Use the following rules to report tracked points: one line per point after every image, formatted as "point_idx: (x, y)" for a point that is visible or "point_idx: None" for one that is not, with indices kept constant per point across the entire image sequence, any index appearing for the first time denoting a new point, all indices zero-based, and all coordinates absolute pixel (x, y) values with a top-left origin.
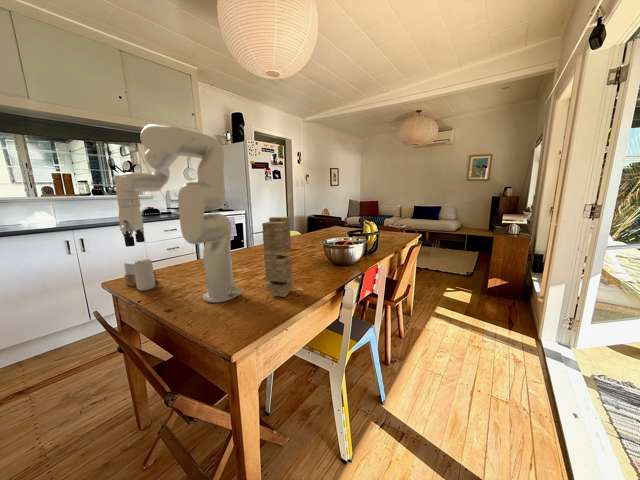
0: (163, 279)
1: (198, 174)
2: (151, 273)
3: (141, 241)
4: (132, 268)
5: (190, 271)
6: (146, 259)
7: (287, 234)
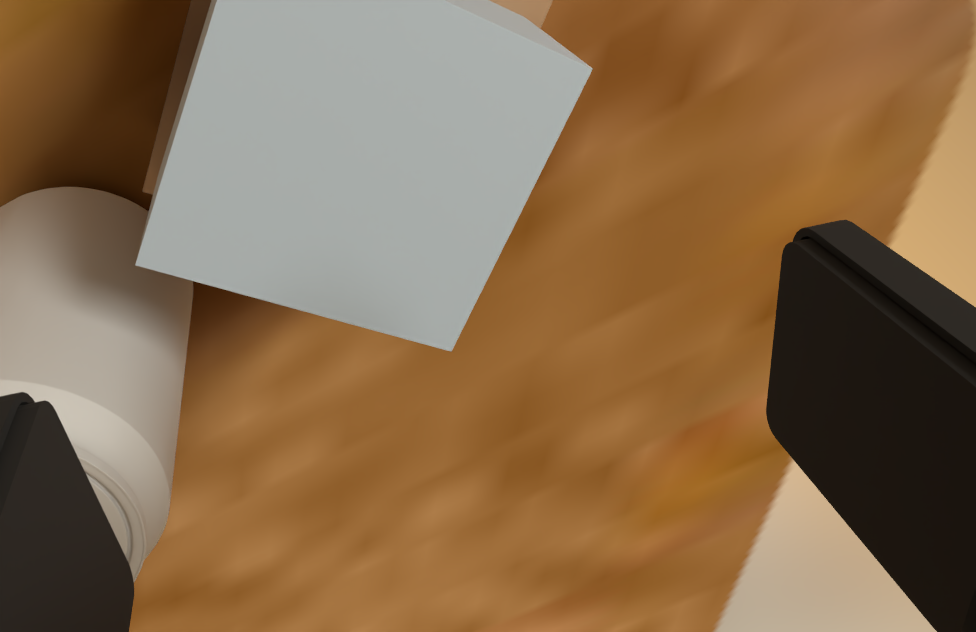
0: None
1: None
2: None
3: (782, 379)
4: (176, 124)
5: (692, 410)
6: (136, 528)
7: None
